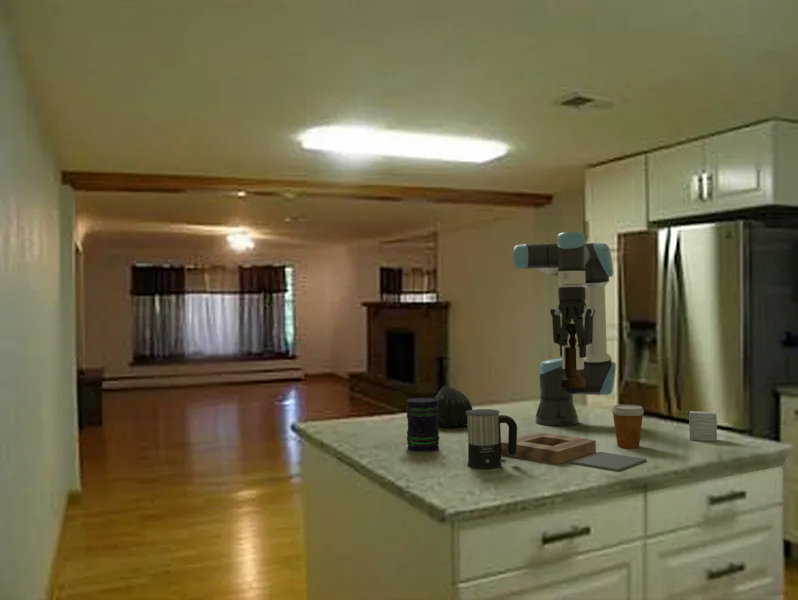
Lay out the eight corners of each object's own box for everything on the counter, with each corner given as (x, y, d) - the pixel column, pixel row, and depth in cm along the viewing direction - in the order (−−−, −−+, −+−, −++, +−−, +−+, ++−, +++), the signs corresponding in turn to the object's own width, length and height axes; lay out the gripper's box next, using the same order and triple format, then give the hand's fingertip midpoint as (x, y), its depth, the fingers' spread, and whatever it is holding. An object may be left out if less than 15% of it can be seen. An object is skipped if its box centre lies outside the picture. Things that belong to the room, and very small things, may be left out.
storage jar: (433, 452, 210) (432, 402, 210) (402, 451, 213) (401, 401, 213) (443, 446, 219) (442, 398, 219) (413, 444, 223) (412, 397, 223)
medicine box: (717, 439, 223) (716, 412, 223) (717, 442, 219) (716, 414, 219) (690, 437, 226) (689, 410, 226) (689, 440, 222) (688, 412, 222)
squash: (478, 414, 246) (469, 379, 256) (436, 417, 243) (428, 382, 253) (471, 435, 256) (463, 401, 266) (431, 439, 254) (424, 404, 264)
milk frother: (477, 471, 187) (476, 414, 187) (450, 459, 201) (449, 406, 202) (523, 465, 192) (522, 410, 192) (493, 454, 207) (492, 403, 207)
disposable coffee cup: (644, 444, 218) (644, 405, 218) (644, 450, 209) (644, 409, 209) (612, 442, 221) (611, 404, 221) (611, 448, 212) (610, 408, 212)
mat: (570, 463, 194) (570, 461, 194) (600, 453, 205) (600, 451, 205) (618, 471, 184) (618, 469, 184) (646, 460, 195) (646, 458, 195)
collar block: (499, 453, 207) (499, 441, 207) (537, 443, 221) (537, 432, 221) (558, 464, 193) (558, 451, 193) (595, 452, 207) (595, 440, 207)
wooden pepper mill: (583, 385, 204) (582, 323, 204) (586, 388, 197) (585, 323, 197) (559, 385, 205) (559, 323, 205) (562, 388, 198) (561, 323, 198)
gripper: (539, 287, 205) (540, 368, 204) (591, 285, 192) (592, 371, 192) (554, 287, 210) (555, 366, 210) (605, 285, 198) (606, 369, 197)
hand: (573, 368), depth 201 cm, fingers closed on wooden pepper mill, 4 cm apart
